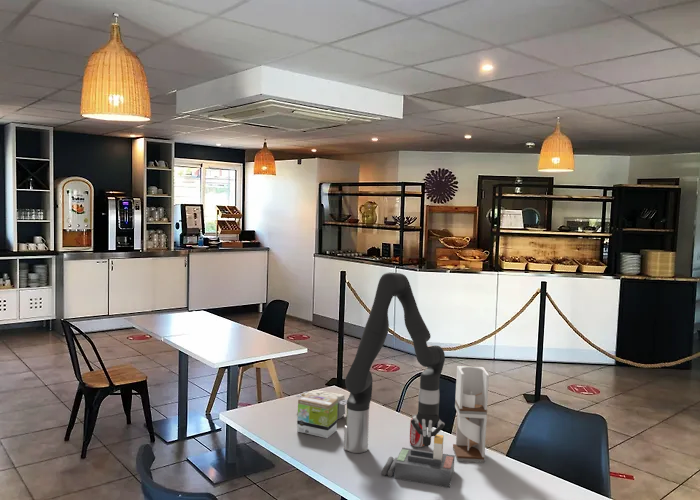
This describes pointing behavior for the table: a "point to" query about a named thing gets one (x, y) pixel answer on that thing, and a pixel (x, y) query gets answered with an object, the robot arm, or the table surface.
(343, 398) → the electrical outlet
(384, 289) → the robot arm
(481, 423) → the white tiered stand
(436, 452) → the block
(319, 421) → the tea box
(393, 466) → the cord bundle
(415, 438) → the soda can
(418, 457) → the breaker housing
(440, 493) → the table surface
